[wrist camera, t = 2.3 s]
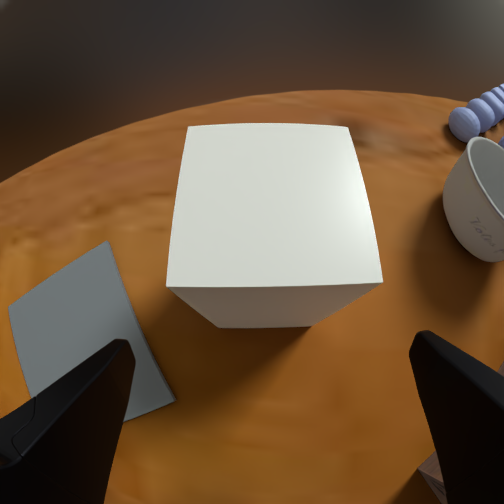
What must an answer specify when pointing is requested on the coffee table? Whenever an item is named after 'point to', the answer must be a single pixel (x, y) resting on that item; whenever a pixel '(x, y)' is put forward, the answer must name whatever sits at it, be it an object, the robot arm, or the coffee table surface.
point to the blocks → (478, 115)
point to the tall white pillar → (271, 225)
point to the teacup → (477, 199)
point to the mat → (83, 328)
